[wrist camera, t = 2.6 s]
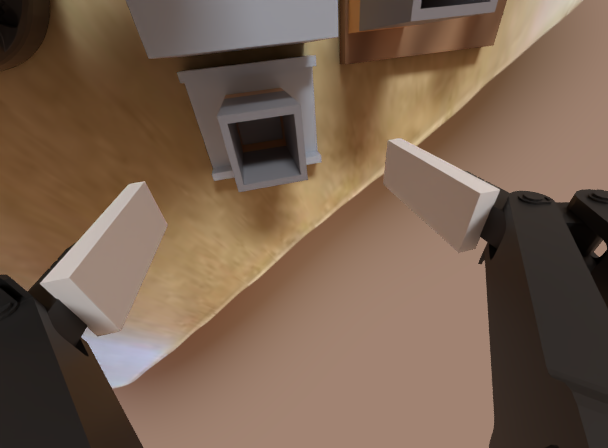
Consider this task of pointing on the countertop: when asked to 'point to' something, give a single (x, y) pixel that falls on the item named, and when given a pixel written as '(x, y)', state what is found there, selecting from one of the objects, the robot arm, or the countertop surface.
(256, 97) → the sleeve
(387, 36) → the pinboard
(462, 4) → the seated sleeve
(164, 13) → the feeder
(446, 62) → the countertop surface
